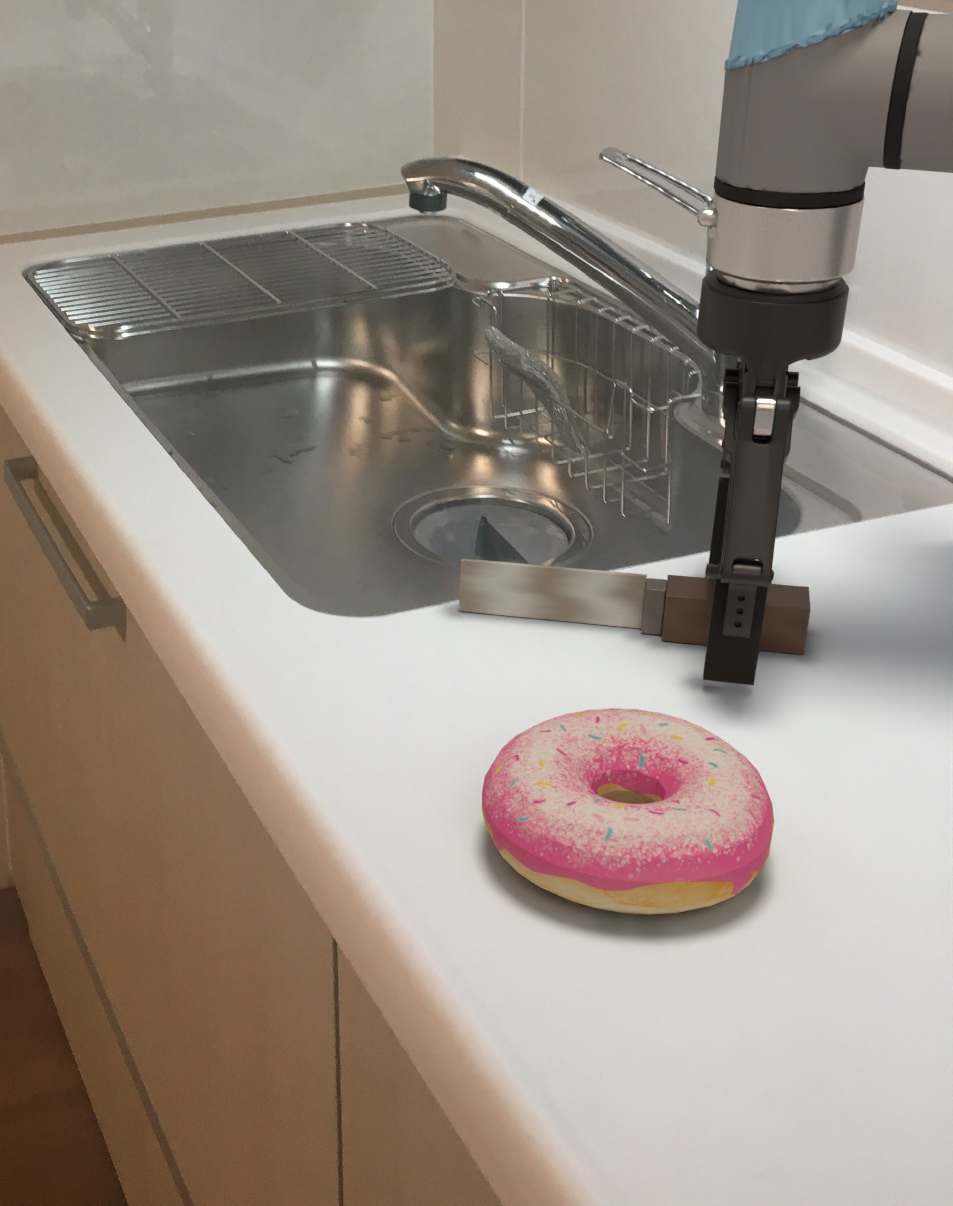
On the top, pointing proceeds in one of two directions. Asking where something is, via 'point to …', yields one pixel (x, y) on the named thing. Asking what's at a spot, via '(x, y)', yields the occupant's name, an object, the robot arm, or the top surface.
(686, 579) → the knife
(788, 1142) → the top surface
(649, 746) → the donut
